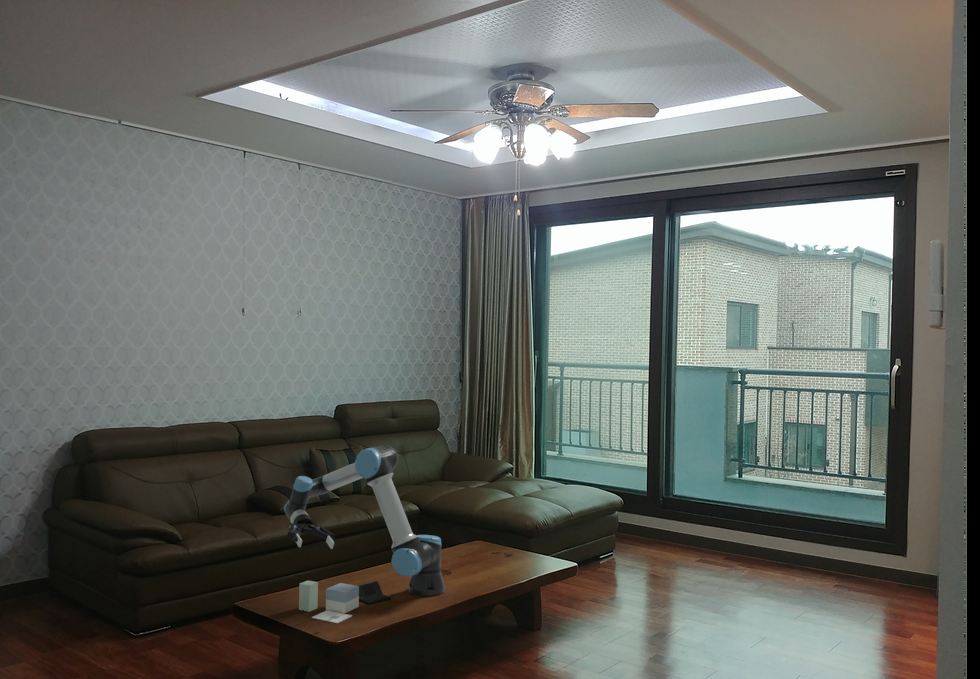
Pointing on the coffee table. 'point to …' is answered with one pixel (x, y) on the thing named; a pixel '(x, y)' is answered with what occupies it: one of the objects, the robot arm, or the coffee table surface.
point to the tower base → (342, 605)
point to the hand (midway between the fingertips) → (316, 545)
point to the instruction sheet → (332, 616)
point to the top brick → (308, 596)
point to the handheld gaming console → (371, 593)
